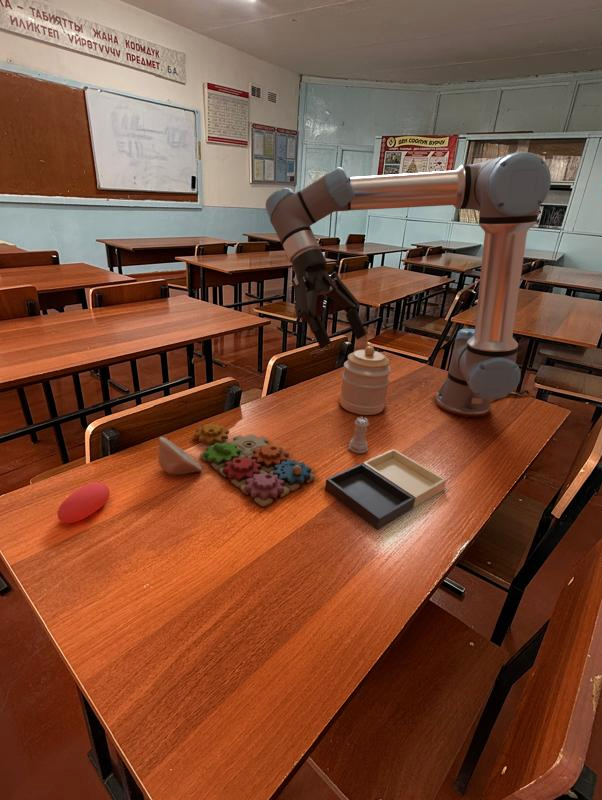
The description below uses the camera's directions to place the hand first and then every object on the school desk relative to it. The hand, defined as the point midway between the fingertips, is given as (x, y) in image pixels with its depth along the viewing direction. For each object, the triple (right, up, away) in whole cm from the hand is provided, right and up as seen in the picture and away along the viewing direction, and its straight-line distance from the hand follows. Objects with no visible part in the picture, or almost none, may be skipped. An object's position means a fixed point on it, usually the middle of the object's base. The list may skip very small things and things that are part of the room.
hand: (344, 341), depth 97 cm
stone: (-34, -28, -7) cm, 45 cm away
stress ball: (-47, -33, -20) cm, 61 cm away
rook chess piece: (+3, -25, +6) cm, 26 cm away
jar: (+7, -15, +27) cm, 32 cm away
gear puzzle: (-22, -26, -2) cm, 34 cm away
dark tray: (+4, -33, -11) cm, 34 cm away
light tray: (+12, -30, -5) cm, 33 cm away
